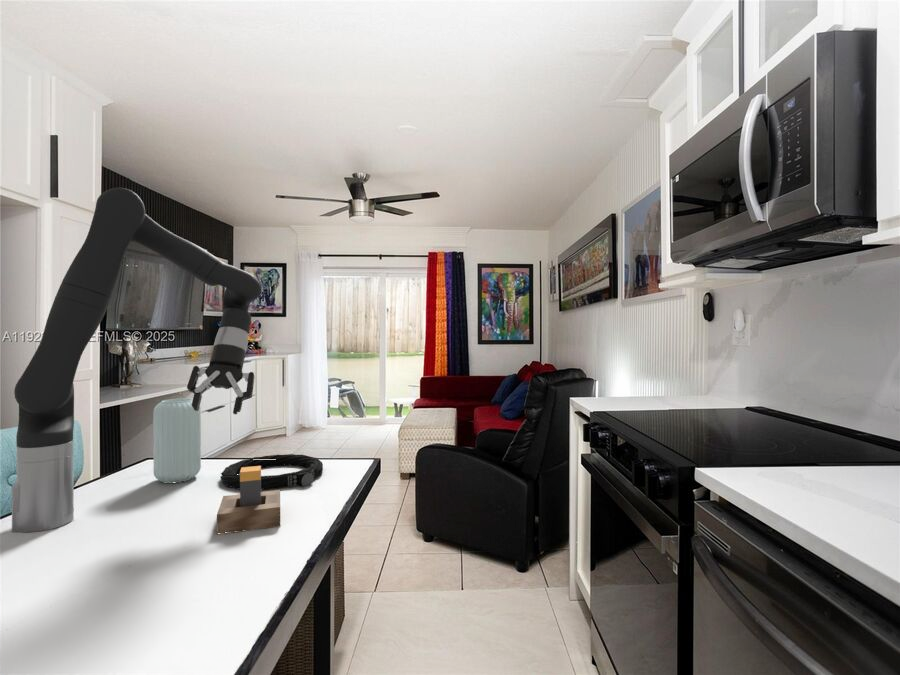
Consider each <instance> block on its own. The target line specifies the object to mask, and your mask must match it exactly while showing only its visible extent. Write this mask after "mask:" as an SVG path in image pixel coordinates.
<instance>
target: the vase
mask: <svg viewBox="0 0 900 675" xmlns="http://www.w3.org/2000/svg"><path fill="white" fill-rule="evenodd" d="M192 401H193V398H170V399H163V400H161V402H158V404H156V405H155V406H154V408H153V418H152V420H153V422H152V426H153V435H152V436H153V450H152V451H153V475H154V476H153V477H155V479H156V480H158V481H159V482H161V481H162V482H161V483H163V482H166V483H165V484H174V483H173V482H179V483H182V482H181V481H184V482H187V481H186V480H188V481H190V480H192V479H193V478H194V477H195V476H197V475H198V474H199V472H201V468H202V466H201V465H202V464H201V463H202V459H201V458H202V457H201V456H202V453H201V452H202V449H201V447H202V446H201V445H202V444H201V440H202V438H201V431H202V430H201V428H202V427H201V424H202V423H201V417H202V416H201V406H200V407H199V410H198V411H195V410H194V408H193V407H192ZM191 478H192V479H191ZM189 479H190V480H189Z"/></svg>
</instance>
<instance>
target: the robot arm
mask: <svg viewBox="0 0 900 675" xmlns="http://www.w3.org/2000/svg"><path fill="white" fill-rule="evenodd" d="M131 241H133V242H135V243H137V244H139V245H141V246H143V247H145V248H147V249H149V250H150V251H153V252H154V253H156V254H158V255H159V256H161V257H163V258H164V259H166V260H168V261H169V262H171V263H172V264H174V265H176V266H177V267H179V268H180V269H182V270H183V271H185V272H186V273H188V274H189V275H191V276H193V277H194V278H196V279H197V280H199V281H201V282H202V283H204V284H205V285H208V286H210V287H216V286H222V287H223V288H225V289H224V292H223V297H222V315H221V320H220V323H219V328H218V331H217V333H216V336H215V339H214V343H213V348H212V352H211V355H210V359H209V364H208V366H207V367H206V368H202V367H199V366H198V365H194V366H193V368H192V370H191V374H190V376H189V379H188V382H187V386H186V388H187V390H188V391H189V393H192V394H193V398H192V399H193V401H192V407H193V408H194V410H195V411H198V410H199V407H200V408H201V402H202V398H203V396H202V395H203V394H204V393H205V392H207V391H208V390H210V389H211V388H212V387H214V388H215V389H226V390H229V389H232V390H233V391H234V393H235V395H236V396H235V400H234V405H233V410H232V411H233V412H232V414H233V415H238V413H240V412H241V410H242V405H243V402H244V399H251V398H252V397H253V393H254V385H255V373H254V372H252V371H250V372H243V369H244V368H243V367H244V364H245V358H246V353H247V351H248V344H249V333H250V329H251V325H252V315H251V313H250V312H249V307H250V305H251V303H253V302H254V301H255V300H258V298H259V297H260V296H261V294H262V290H263V289H262V288H263V287H262V285H261V282H260V281H259V280H258V279H257V277H255V275H253V274H251V273H249V272H248V271H245V270H243V269H241V268H239V267H237V266H233V265H232V264H228V263H225V262H223V261H222V260H221V259H219V258H218V257H216V256H215V255H213V254H212V253H210V252H209V251H207V250H206V249H205V248H202V246H201V247H200V246H199V245H197V244H196V243H193V242H191V241H189V240H187V239H184V238H183V237H181V236H179V235H177V234H174V232H171V231H170V230H168V229H167V228H164V227H163V226H161V225H160V224H159V223H158V222H156V221H154V220H153V219H152V217H150V216H149V215H148V214H146V208H145V204H144V202H143V200H142V199H141V197H140V196H139V195H138V194H137V193H135V191H133V190H131V189H129V188H124V187H113V188H110V189H107V190H105V191H103V192H102V193H100V194H99V196H98V197H97V200H96V202H95V209H94V212H93V215H92V220H91V224H90V225H89V229H88V233H87V235H86V238H85V240H84V242H83V244H82V246H81V247H80V249H79V251H78V252H77V254H76V255H75V257H74V259H73V261H72V262H71V264H70V266H69V267H68V269H67V270H66V273H65V275H64V277H63V279H62V281H61V284H60V285H59V287H58V290H57V292H56V295H55V296H54V299H53V302H52V305H51V308H50V310H49V313H48V316H47V319H46V323H45V327H44V329H43V333H42V337H41V339H40V341H39V345H38V346H37V348H36V350H35V352H34V354H33V356H32V357H31V359H30V361H29V363H28V365H27V366H26V367H25V370H24V371H23V373H22V374H21V376H20V378H19V379H18V380H17V382H16V384H15V386H14V387H15V388H14V391H13V392H14V399H15V401H16V403H17V404H18V424H17V431H16V483H14V484H12V485H11V532H22V533H33V532H42V531H47V530H51V529H55V528H59V527H61V526H64V525H67V524H69V523H71V522H72V521H73V520H74V512H75V508H74V507H75V506H74V504H75V503H74V491H75V490H74V429H75V428H74V426H75V385H74V381H75V376H76V372H77V370H78V366H79V364H80V360H81V357H82V355H83V353H84V351H85V349H86V347H87V346H88V344H89V343H90V341H91V339H92V338H93V336H94V334H95V333H96V331H97V329H98V327H99V326H100V324H101V322H102V321H103V318H104V317H105V315H106V312H107V310H108V308H109V304H110V303H111V300H112V297H113V294H114V292H115V290H116V286H117V283H118V279H119V276H120V275H119V274H120V271H121V267H122V264H123V263H122V262H123V260H124V256H125V254H126V251H127V248H128V247H129V245H130V243H131ZM203 375H205V377H207V378H205V379H204V380H203V381H202V382H201V383H200V385H198V386H197V384H198V380H199V378H200V377H201V378H202V377H203ZM242 379H244V381H245V382H246V391H242V390H241V387H240V386H239V384H238V383H239V382H240V381H241V380H242Z"/></svg>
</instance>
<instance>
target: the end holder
mask: <svg viewBox="0 0 900 675" xmlns="http://www.w3.org/2000/svg"><path fill="white" fill-rule="evenodd" d="M275 527H281V489H277V490H276V489H274V490H267V491H261V505H253V506H245V507H240V493H239V494H230V495H222V499H221V502H220V504H219V508H218V511H217V513H216V534H217V533H224V534H226V533H225V532H232V533H236V532H235V531H239V532H244V531H243V530H247V531H253V530H252V529H255V530H259V529H258V528H262V529H269V528H275Z"/></svg>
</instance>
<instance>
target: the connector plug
mask: <svg viewBox="0 0 900 675" xmlns="http://www.w3.org/2000/svg"><path fill="white" fill-rule="evenodd" d="M239 475H240V489H239V494H240V507H245V506H253V505H261V492H262V490H261V476H262V468H261V466H253V467H242V468H241V471H240V474H239Z"/></svg>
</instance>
